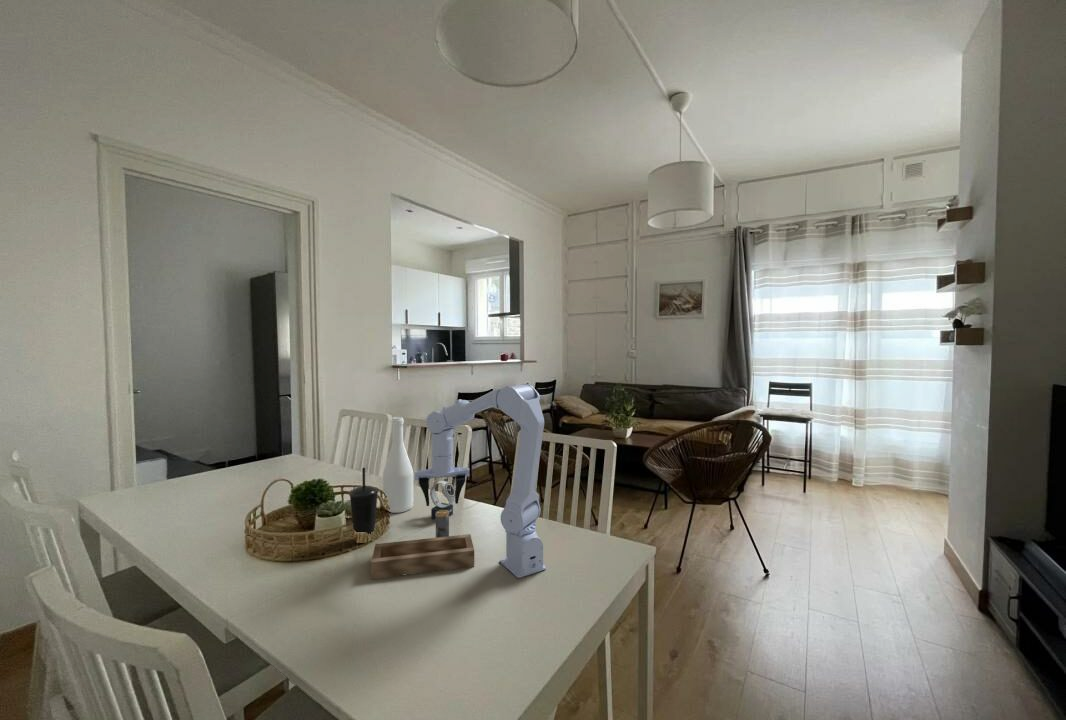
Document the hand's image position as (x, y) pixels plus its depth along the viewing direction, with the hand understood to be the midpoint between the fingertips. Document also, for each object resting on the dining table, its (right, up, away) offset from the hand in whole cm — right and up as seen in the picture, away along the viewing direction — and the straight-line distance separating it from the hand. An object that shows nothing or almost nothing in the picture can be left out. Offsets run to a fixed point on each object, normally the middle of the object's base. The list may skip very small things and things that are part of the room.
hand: (442, 503), depth 117 cm
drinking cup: (-22, -11, +1) cm, 24 cm away
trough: (-2, -11, -11) cm, 16 cm away
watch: (-3, -10, +17) cm, 20 cm away
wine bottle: (-19, -10, +24) cm, 32 cm away
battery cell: (0, -10, 0) cm, 10 cm away
